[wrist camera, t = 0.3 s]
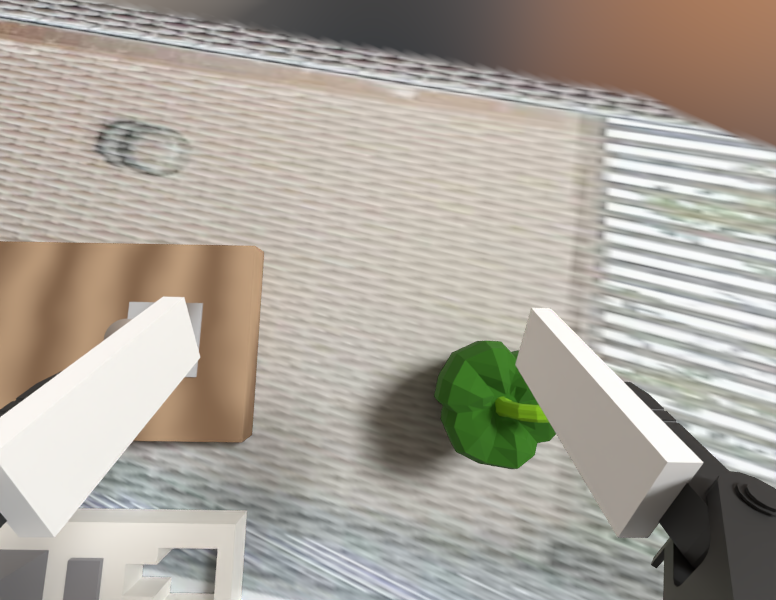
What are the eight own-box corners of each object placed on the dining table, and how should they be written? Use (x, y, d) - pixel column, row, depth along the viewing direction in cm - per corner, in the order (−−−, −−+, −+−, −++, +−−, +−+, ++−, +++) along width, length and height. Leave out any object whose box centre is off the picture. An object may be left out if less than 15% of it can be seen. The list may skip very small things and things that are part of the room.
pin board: (264, 252, 29) (233, 229, 24) (252, 434, 27) (214, 461, 22) (-89, 246, 29) (-209, 222, 23) (-126, 429, 27) (-269, 453, 21)
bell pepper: (412, 419, 28) (427, 464, 18) (442, 329, 29) (472, 323, 19) (506, 453, 27) (574, 517, 18) (533, 361, 28) (611, 372, 19)
